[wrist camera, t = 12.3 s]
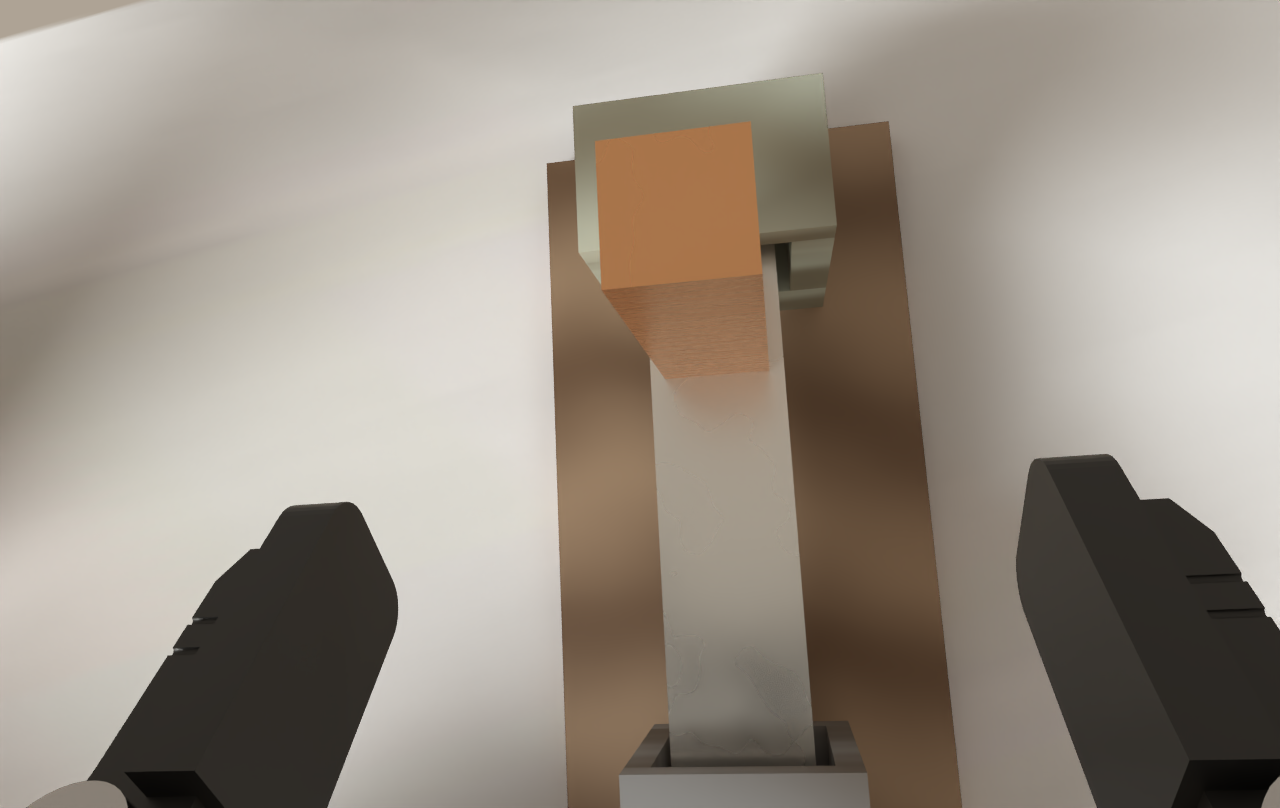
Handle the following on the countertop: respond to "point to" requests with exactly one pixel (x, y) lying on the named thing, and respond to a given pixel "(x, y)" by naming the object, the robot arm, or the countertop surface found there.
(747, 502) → the orange and grey blocks
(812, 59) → the countertop surface
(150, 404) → the countertop surface
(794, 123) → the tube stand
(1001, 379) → the countertop surface
